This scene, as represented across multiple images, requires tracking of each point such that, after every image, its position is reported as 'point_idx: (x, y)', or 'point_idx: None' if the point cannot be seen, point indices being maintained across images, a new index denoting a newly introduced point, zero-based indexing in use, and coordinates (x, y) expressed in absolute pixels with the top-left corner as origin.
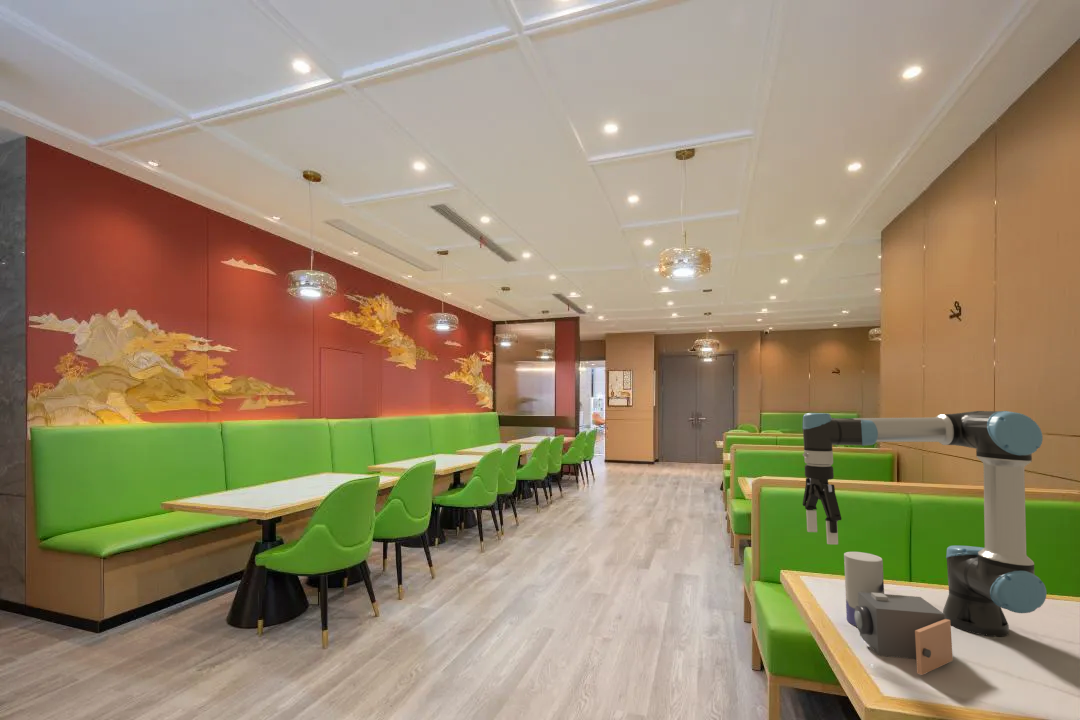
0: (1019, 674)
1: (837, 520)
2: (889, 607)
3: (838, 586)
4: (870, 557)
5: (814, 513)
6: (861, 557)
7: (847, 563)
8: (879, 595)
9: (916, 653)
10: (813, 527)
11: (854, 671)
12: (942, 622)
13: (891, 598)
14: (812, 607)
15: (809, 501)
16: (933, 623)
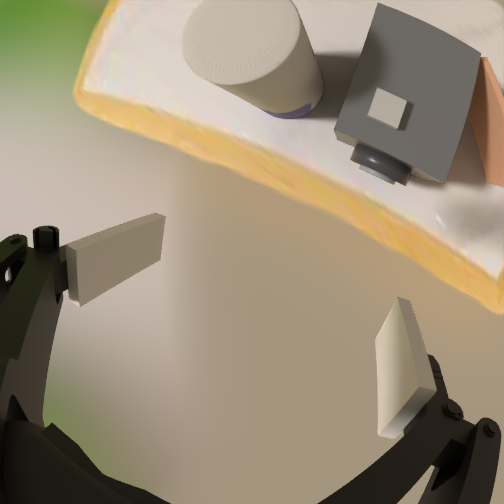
0: (477, 21)
1: (466, 423)
2: (443, 141)
3: (127, 42)
4: (257, 14)
5: (91, 257)
6: (253, 43)
7: (240, 90)
8: (392, 111)
9: (501, 184)
10: (148, 240)
11: (446, 267)
12: (497, 85)
13: (388, 77)
14: (202, 143)
15: (49, 354)
16: (501, 110)
